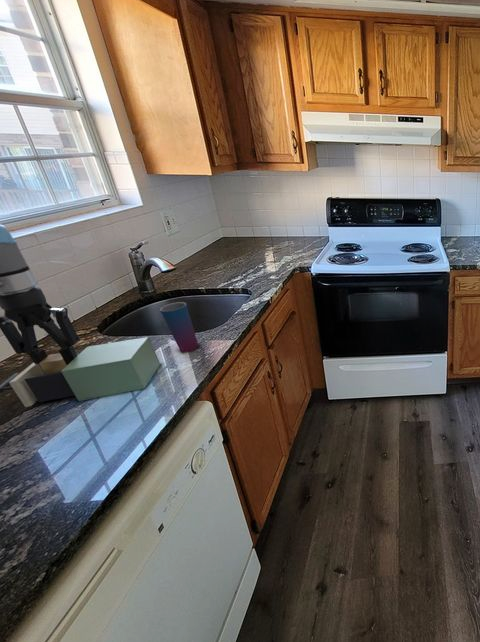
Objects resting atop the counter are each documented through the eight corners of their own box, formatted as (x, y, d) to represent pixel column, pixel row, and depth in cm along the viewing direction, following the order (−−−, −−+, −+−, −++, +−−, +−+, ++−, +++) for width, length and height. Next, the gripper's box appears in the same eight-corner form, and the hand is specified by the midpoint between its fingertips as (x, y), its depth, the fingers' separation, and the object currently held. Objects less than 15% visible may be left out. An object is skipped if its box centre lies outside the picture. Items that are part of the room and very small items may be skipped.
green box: (78, 401, 95) (60, 371, 91) (102, 374, 106) (87, 346, 102) (144, 388, 100) (130, 359, 96) (160, 364, 110) (148, 336, 106)
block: (47, 377, 94) (38, 363, 93) (57, 368, 98) (49, 354, 96) (68, 374, 96) (60, 359, 94) (78, 365, 100) (70, 351, 98)
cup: (173, 349, 118) (155, 308, 112) (195, 340, 123) (180, 300, 117) (182, 355, 114) (165, 313, 108) (205, 346, 119) (190, 304, 113)
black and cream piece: (-2, 412, 91) (-20, 387, 88) (28, 386, 101) (13, 362, 97) (90, 394, 96) (76, 370, 93) (110, 371, 106) (98, 348, 103)
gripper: (-46, 301, 81) (10, 386, 91) (53, 289, 86) (95, 371, 96) (-20, 289, 88) (30, 369, 98) (70, 279, 93) (109, 356, 103)
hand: (62, 370), depth 97 cm, fingers closed on block, 4 cm apart
